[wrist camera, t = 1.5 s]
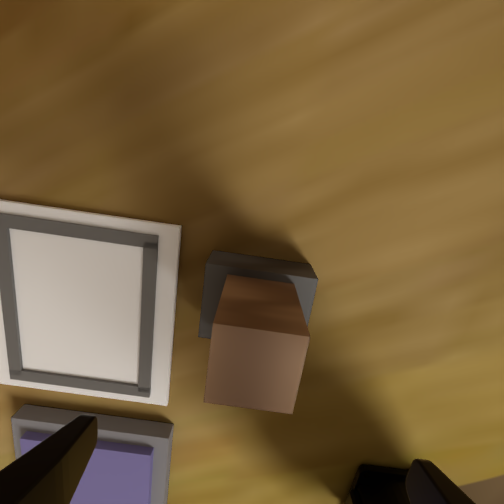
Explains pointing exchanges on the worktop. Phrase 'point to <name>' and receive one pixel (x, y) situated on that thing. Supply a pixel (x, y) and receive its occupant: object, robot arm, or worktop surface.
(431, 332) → the worktop surface
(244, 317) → the stamp
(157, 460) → the ink pad
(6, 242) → the marked card
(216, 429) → the worktop surface
